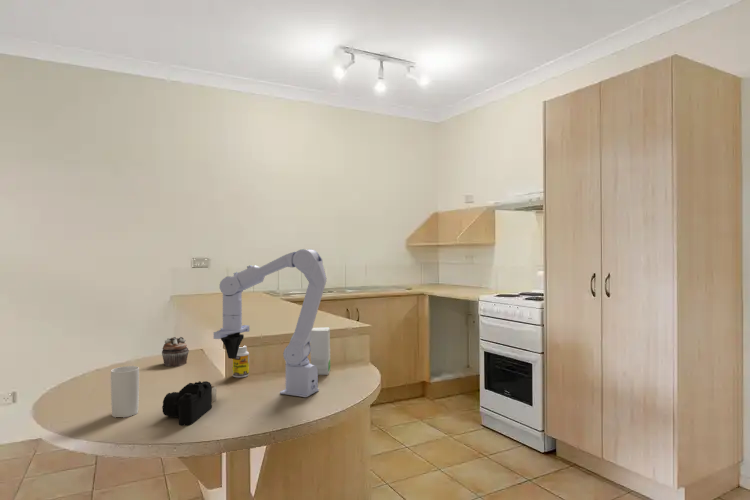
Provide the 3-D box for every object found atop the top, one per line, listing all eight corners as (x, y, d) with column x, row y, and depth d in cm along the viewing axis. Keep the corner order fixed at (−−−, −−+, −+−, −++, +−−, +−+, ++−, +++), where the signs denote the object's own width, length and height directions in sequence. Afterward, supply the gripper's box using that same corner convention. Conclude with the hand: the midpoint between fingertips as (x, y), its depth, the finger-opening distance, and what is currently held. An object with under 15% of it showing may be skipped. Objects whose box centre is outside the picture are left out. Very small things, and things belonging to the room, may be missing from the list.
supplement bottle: (231, 378, 161) (231, 348, 161) (233, 374, 166) (233, 345, 166) (247, 377, 162) (247, 347, 162) (249, 373, 167) (249, 344, 167)
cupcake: (156, 366, 177) (156, 339, 177) (171, 360, 187) (171, 335, 186) (179, 367, 175) (179, 340, 175) (193, 361, 185) (193, 335, 185)
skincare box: (328, 375, 165) (328, 330, 165) (309, 375, 165) (309, 330, 165) (330, 369, 173) (330, 326, 173) (312, 369, 173) (312, 326, 173)
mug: (134, 417, 124) (134, 371, 124) (106, 419, 123) (106, 372, 123) (145, 404, 134) (145, 362, 134) (120, 406, 133) (120, 363, 132)
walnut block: (203, 391, 133) (185, 388, 136) (203, 405, 133) (185, 402, 136) (216, 386, 138) (198, 384, 141) (216, 400, 138) (198, 397, 141)
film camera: (182, 406, 133) (182, 374, 133) (216, 407, 132) (216, 375, 132) (153, 426, 118) (153, 390, 118) (190, 427, 117) (190, 391, 117)
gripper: (237, 311, 156) (237, 352, 156) (205, 317, 143) (205, 362, 143) (254, 312, 153) (254, 354, 153) (224, 318, 140) (224, 364, 140)
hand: (232, 358), depth 148 cm, fingers closed
